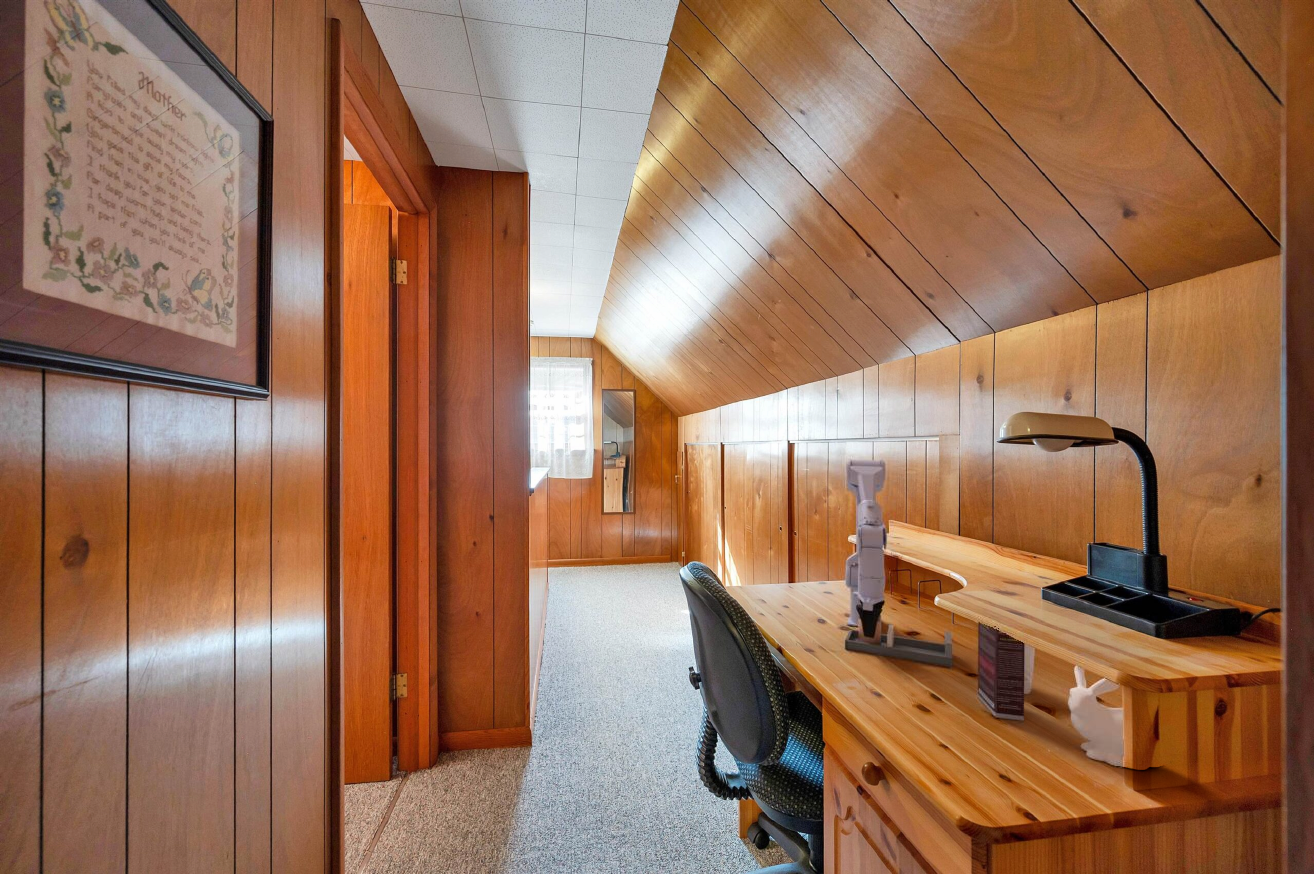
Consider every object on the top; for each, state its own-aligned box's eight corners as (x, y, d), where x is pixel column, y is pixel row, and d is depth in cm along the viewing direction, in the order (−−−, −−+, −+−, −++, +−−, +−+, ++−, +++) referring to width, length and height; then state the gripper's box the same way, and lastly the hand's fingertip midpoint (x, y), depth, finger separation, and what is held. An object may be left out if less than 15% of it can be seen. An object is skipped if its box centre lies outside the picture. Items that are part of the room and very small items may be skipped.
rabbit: (1069, 757, 83) (1069, 677, 83) (1064, 731, 90) (1064, 658, 91) (1178, 784, 76) (1177, 698, 76) (1161, 754, 84) (1161, 676, 84)
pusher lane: (850, 637, 135) (850, 616, 135) (950, 653, 125) (950, 631, 125) (845, 648, 126) (845, 627, 127) (952, 667, 117) (952, 644, 117)
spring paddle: (889, 641, 130) (889, 625, 130) (893, 642, 129) (893, 625, 129) (887, 651, 123) (887, 633, 123) (891, 652, 123) (892, 634, 123)
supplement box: (1026, 721, 93) (1026, 628, 94) (995, 718, 94) (995, 626, 95) (1004, 699, 102) (1004, 614, 102) (976, 696, 103) (976, 612, 103)
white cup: (1020, 680, 111) (1020, 630, 111) (1044, 697, 103) (1044, 644, 103) (979, 677, 112) (980, 628, 112) (1000, 694, 104) (1000, 642, 104)
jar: (859, 639, 132) (859, 610, 132) (881, 642, 129) (881, 613, 130) (857, 645, 127) (857, 615, 128) (880, 649, 125) (880, 618, 125)
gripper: (856, 568, 137) (856, 622, 137) (849, 579, 124) (848, 639, 124) (887, 571, 134) (886, 626, 134) (882, 583, 121) (881, 645, 121)
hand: (870, 633), depth 128 cm, fingers closed on jar, 5 cm apart
